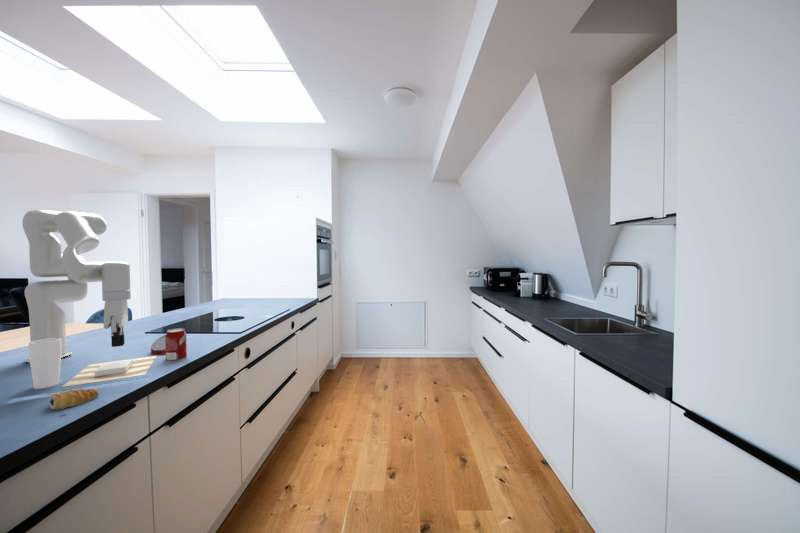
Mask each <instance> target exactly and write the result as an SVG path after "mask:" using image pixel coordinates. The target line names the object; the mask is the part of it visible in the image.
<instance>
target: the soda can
mask: <svg viewBox="0 0 800 533" xmlns="http://www.w3.org/2000/svg"><path fill="white" fill-rule="evenodd" d="M164 335H165V348H166V354H165V360H166V361H177V360H181V359H184V358H185V359H186V358H188V354H187V351H188V348H187V345H188V344H187V332H186V331H185V328H181V327H179V328H172V329H168V330H167V331H166V334H164Z"/></svg>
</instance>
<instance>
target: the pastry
mask: <svg viewBox="0 0 800 533" xmlns="http://www.w3.org/2000/svg"><path fill="white" fill-rule="evenodd" d="M98 392H99V391H98V390H97V389H94V388H89V389H82V388H79V389H69V390H68V391H62V392H59V393H58V394H57V393H54V394H51V396H50V399H49V403H48V404H49V408H50V409H51V410H53V411H57V410H58V411H60V410H59V409H61V410H64V408H65V409H67V408H68V407H75V405H76V406H79V405H81V403H82V404H84V403H83V402H85V403H87V402H86V401H88V402H90V401H89V400H91V401H93V400H94V399H96V397H97V398H98V397H99V393H98ZM92 399H93V400H92Z"/></svg>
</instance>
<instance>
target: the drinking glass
mask: <svg viewBox="0 0 800 533" xmlns="http://www.w3.org/2000/svg"><path fill="white" fill-rule="evenodd" d="M28 357H29V360H30V363H29V366H30V370H31V376H32V377H31V378H32V383H33V389H35V390H39V389H47V388H50V387H54V386H57V385H59V384H60V382H61V379H60V378H61V367H62V359H61V357H62V342H61V338H48V339H41V340H35V341H32V342H30V341H29V342H28Z"/></svg>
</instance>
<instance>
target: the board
mask: <svg viewBox="0 0 800 533" xmlns="http://www.w3.org/2000/svg"><path fill="white" fill-rule="evenodd" d="M157 357H158V355H152V356H146V357H137V358H132V359H133V365H132V366H131V367H130V368H129V369H128V371H127V372H124V373H117V374H110V375H103V376H96V377H95V370H97V369H98V368H99V367H100V366H101V365H102V364H103V363H104V362H98V363H90V364H88V365H87V366H86V367H85V368H83V369H82V370H81V371H79V372H78V373H77V374H76V375H75V376H73V377H72V378H71V379H69V380H68V381H67V382H66V383H65V384H63V385H62V386H61V388H67V387H74V386H79V385H87V384H93V383H100V382H106V381H113V380H119V379H124V378H125V379H126V378H131V377H132V379H130V381H131V380H133V377H137V376H138V377H139V376H143V378H144V379H145V378H146V377H145V376H146V375H147V372H148V371H149V369H150V368H151V366H152V364H153V363H154V361H155V360H156V359H157ZM113 361H114V360H113ZM113 361H111V362H113ZM119 361H121V360H120V359H119ZM144 375H145V376H144ZM138 379H140V377H139V378H136V380H138ZM117 382H120V381H117ZM113 383H114V381H113V382H111V384H113ZM105 384H106V385H107V384H108V383H105ZM100 385H101V383H100V384H98V386H100ZM79 389H82V387H79ZM67 390H68V391H70V389H67ZM73 390H76V388H75V387H74V388H73ZM61 391H62V392H63V390H61Z"/></svg>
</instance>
